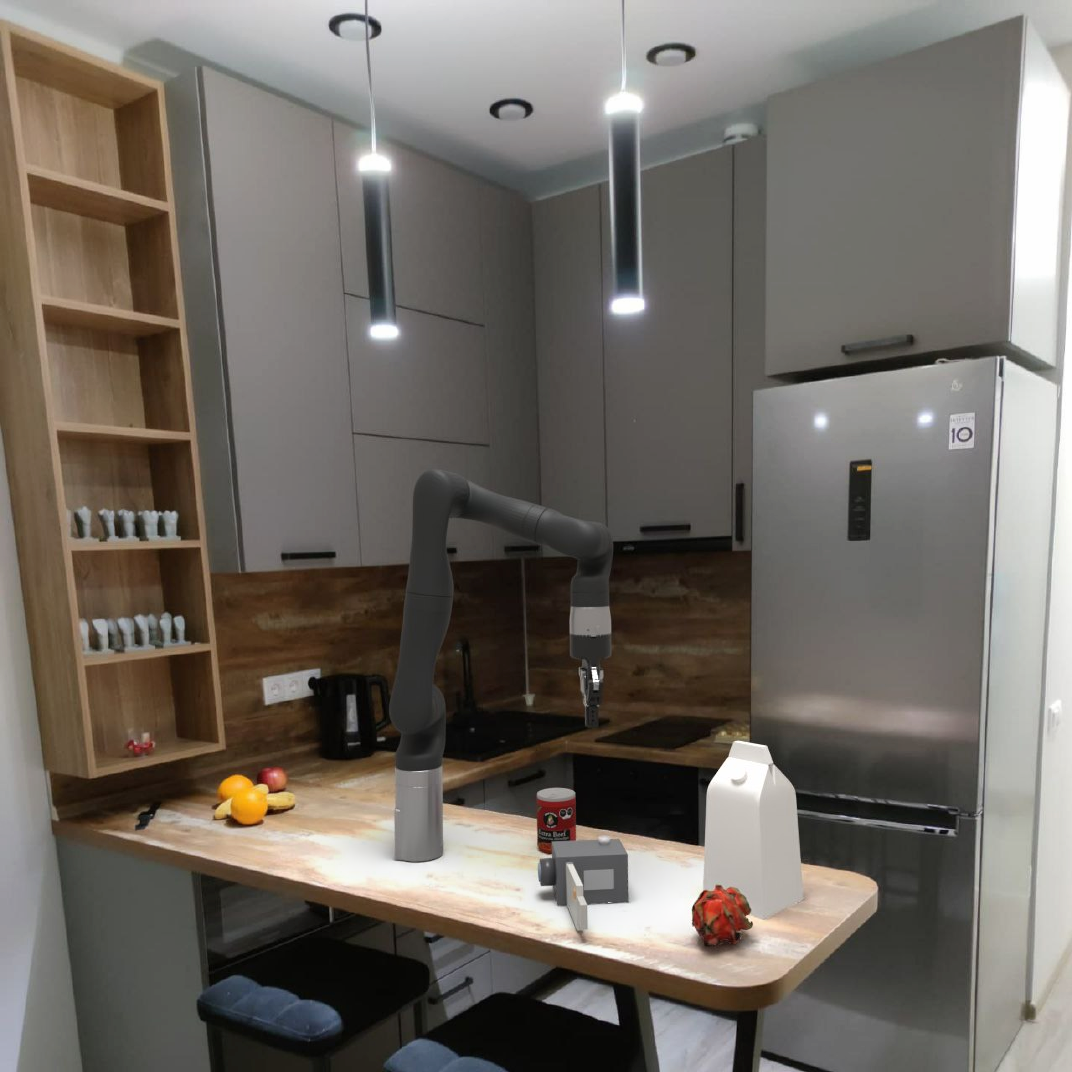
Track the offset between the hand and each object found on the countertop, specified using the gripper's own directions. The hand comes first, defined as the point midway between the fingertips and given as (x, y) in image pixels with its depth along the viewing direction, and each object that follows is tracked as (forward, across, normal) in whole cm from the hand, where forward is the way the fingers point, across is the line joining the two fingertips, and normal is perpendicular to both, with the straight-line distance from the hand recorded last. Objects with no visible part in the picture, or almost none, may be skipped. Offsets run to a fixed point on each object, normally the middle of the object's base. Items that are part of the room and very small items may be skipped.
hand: (591, 726), depth 158 cm
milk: (+27, +13, +25) cm, 39 cm away
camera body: (+27, +8, -3) cm, 28 cm away
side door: (+27, +19, -6) cm, 33 cm away
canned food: (+27, -16, -5) cm, 32 cm away
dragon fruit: (+27, +28, +15) cm, 42 cm away
